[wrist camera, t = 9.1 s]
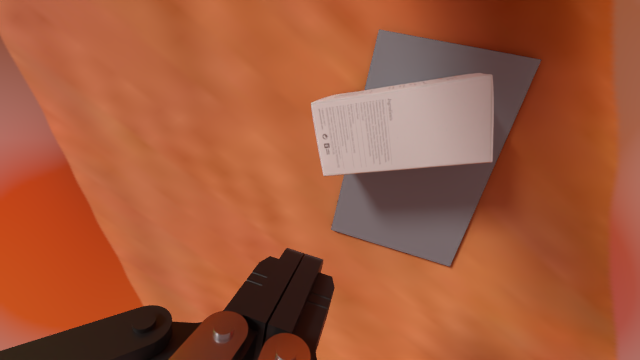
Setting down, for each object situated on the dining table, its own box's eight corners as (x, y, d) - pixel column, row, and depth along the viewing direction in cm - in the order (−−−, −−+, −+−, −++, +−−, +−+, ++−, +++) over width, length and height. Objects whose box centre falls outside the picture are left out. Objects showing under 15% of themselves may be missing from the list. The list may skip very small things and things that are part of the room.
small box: (321, 178, 25) (494, 164, 21) (308, 101, 24) (495, 71, 20) (341, 154, 33) (472, 140, 29) (332, 94, 31) (471, 71, 27)
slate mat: (379, 30, 28) (379, 29, 28) (538, 59, 26) (541, 59, 25) (332, 227, 37) (331, 229, 36) (449, 263, 34) (449, 266, 34)
